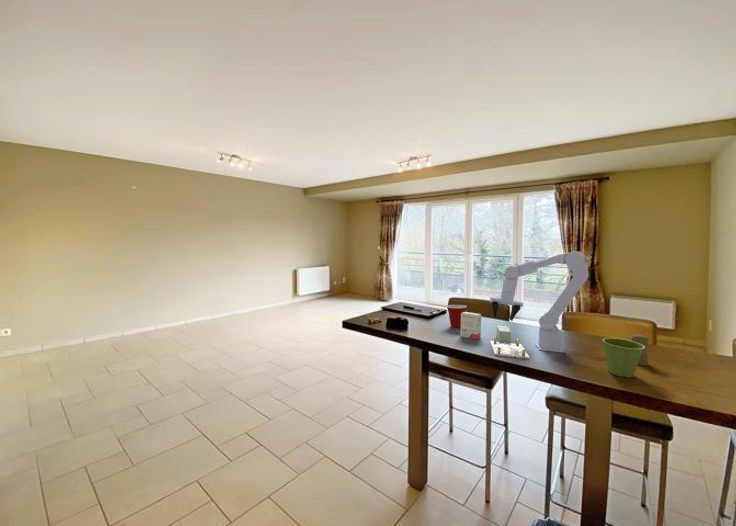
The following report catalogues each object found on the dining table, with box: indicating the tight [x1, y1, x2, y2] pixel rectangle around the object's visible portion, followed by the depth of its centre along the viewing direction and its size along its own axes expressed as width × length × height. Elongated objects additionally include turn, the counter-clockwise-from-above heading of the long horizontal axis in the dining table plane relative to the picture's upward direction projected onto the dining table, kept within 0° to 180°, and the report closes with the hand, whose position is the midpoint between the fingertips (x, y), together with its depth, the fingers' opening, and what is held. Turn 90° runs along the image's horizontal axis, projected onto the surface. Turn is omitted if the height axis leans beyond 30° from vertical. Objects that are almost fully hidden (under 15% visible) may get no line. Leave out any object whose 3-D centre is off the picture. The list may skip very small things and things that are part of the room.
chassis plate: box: [489, 336, 530, 360], centre depth 135 cm, size 13×17×3 cm
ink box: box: [460, 311, 482, 341], centre depth 153 cm, size 9×5×12 cm, turn 50°
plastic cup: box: [446, 304, 467, 329], centre depth 171 cm, size 11×11×12 cm
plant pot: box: [601, 337, 645, 379], centre depth 112 cm, size 12×12×11 cm
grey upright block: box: [630, 334, 650, 366], centre depth 123 cm, size 6×6×11 cm
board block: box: [495, 325, 512, 343], centre depth 150 cm, size 5×10×6 cm, turn 164°
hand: (502, 318), depth 149 cm, fingers open, 7 cm apart
